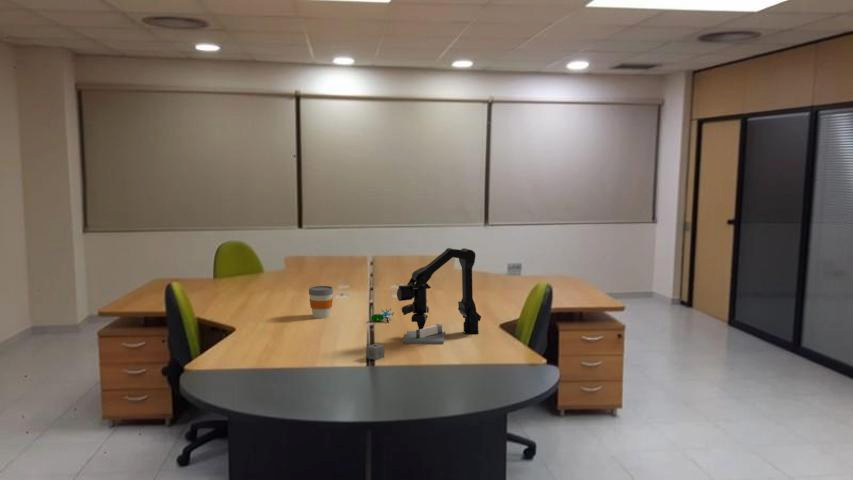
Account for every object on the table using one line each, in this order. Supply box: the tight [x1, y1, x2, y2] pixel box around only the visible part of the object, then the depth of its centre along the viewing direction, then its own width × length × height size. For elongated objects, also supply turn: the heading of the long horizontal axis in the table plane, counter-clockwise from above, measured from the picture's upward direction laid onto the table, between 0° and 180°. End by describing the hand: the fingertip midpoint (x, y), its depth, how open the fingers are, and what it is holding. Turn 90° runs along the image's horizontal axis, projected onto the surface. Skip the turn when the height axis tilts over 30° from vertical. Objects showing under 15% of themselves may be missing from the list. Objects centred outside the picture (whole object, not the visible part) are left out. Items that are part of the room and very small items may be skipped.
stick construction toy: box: [370, 308, 395, 324], centre depth 320 cm, size 12×7×8 cm
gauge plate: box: [402, 330, 447, 345], centre depth 289 cm, size 18×16×1 cm
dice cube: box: [366, 343, 385, 361], centre depth 261 cm, size 5×5×5 cm
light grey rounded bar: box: [415, 323, 443, 338], centre depth 289 cm, size 16×3×4 cm, turn 133°
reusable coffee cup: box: [308, 285, 334, 319], centre depth 332 cm, size 13×13×15 cm
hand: (420, 332), depth 288 cm, fingers closed
